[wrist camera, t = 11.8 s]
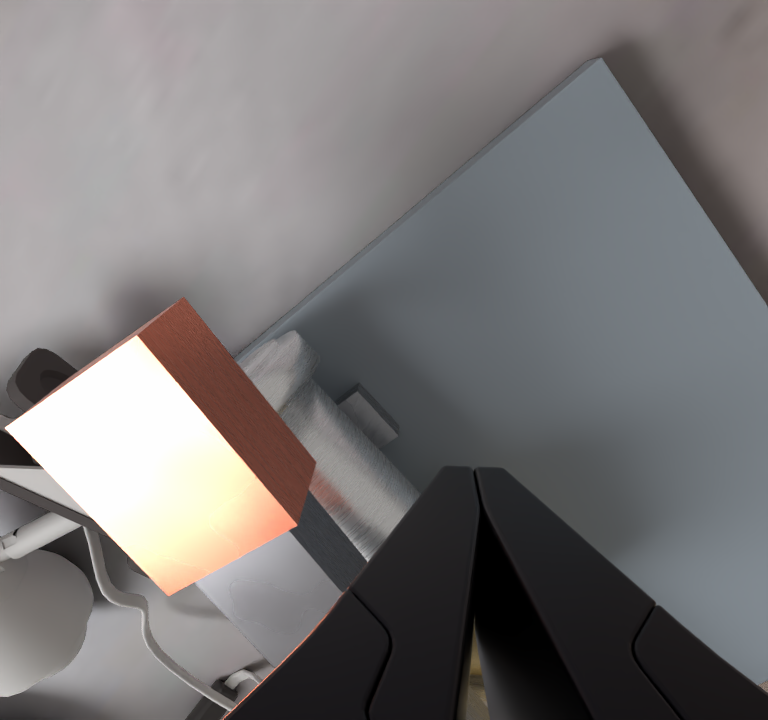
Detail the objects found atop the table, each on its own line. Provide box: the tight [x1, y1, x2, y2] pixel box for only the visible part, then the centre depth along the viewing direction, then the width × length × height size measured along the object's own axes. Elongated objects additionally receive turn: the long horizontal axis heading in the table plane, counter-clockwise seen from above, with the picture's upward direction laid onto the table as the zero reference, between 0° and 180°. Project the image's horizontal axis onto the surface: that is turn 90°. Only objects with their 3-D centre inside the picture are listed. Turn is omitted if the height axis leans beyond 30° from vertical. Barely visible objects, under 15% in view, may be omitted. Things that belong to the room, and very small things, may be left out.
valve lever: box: [5, 297, 490, 720], centre depth 14 cm, size 15×3×2 cm, turn 34°
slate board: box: [233, 58, 768, 685], centre depth 23 cm, size 22×18×2 cm
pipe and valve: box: [238, 330, 488, 707], centre depth 20 cm, size 22×6×7 cm, turn 40°
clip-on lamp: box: [0, 348, 262, 720], centre depth 24 cm, size 12×6×18 cm
